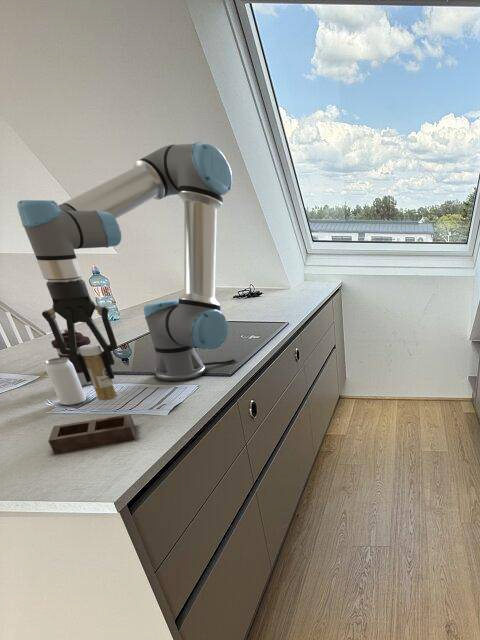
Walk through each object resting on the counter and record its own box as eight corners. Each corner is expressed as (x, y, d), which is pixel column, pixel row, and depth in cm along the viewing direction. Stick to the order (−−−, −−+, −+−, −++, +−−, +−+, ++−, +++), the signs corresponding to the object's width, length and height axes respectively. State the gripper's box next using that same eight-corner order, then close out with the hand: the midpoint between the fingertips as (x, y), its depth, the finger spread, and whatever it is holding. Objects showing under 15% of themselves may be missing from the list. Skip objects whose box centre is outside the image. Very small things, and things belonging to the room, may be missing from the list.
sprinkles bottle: (114, 400, 117) (95, 347, 110) (95, 401, 116) (75, 349, 109) (119, 394, 121) (102, 343, 114) (101, 395, 120) (82, 344, 113)
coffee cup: (61, 385, 143) (40, 336, 135) (90, 375, 151) (72, 329, 143) (83, 389, 140) (63, 339, 132) (111, 379, 148) (94, 332, 140)
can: (74, 406, 128) (57, 364, 121) (55, 404, 129) (36, 363, 122) (92, 398, 133) (76, 357, 127) (73, 396, 134) (56, 356, 128)
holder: (134, 426, 116) (130, 413, 115) (135, 440, 110) (130, 427, 108) (59, 439, 110) (53, 425, 108) (54, 454, 103) (48, 440, 101)
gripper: (109, 275, 110) (138, 370, 122) (21, 279, 103) (62, 379, 116) (107, 279, 104) (139, 378, 117) (14, 284, 97) (58, 388, 110)
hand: (100, 378), depth 116 cm, fingers closed on sprinkles bottle, 5 cm apart
